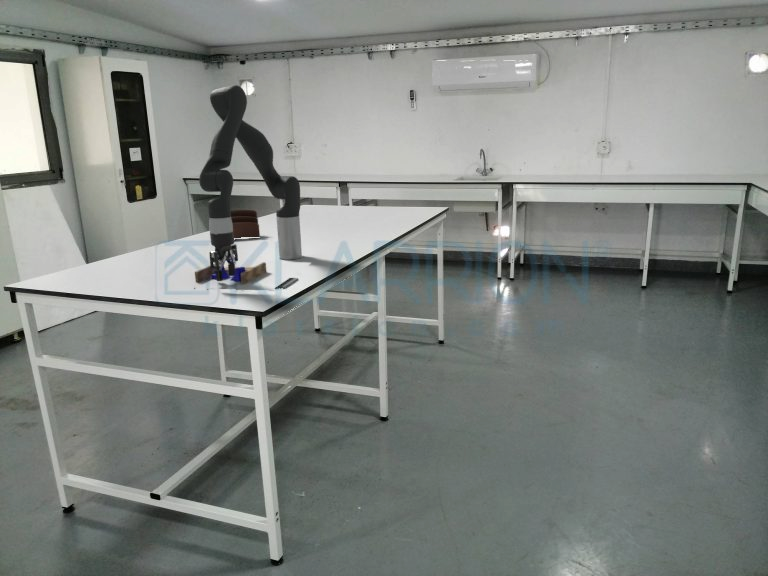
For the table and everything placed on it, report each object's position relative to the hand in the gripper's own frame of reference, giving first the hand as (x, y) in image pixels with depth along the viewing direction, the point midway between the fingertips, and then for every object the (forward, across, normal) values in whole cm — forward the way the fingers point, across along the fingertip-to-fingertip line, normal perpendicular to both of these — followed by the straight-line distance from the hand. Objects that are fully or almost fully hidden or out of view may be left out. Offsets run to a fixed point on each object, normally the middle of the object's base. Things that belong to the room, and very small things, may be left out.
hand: (226, 277), depth 189 cm
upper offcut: (+1, -10, 0) cm, 10 cm away
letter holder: (+3, -86, -40) cm, 95 cm away
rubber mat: (+2, -3, +17) cm, 17 cm away
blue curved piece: (+3, -1, 0) cm, 3 cm away
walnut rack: (+2, -4, 0) cm, 5 cm away
